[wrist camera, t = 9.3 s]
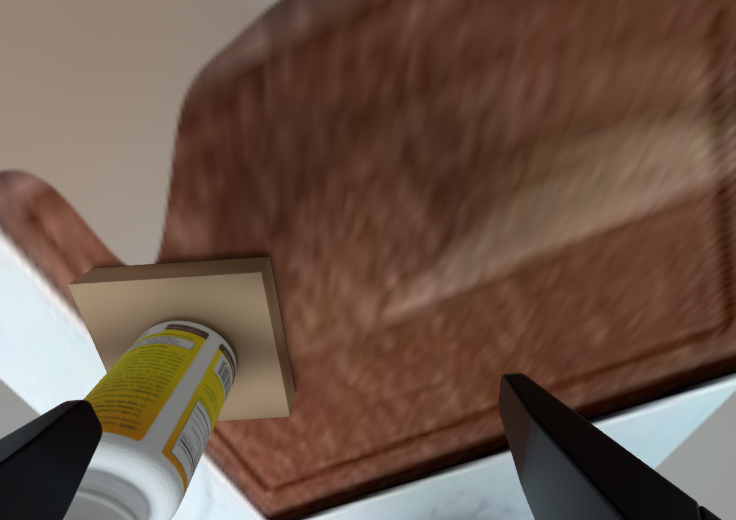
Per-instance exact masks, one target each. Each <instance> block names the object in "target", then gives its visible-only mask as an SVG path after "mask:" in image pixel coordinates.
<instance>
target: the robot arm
mask: <svg viewBox="0 0 736 520" xmlns="http://www.w3.org/2000/svg"><path fill="white" fill-rule="evenodd" d="M499 412H500V416H501V419H502V422H503V426H504V429H505V433H506V436H507V439H508V443H509V446H510V450H511V453H512V456H513V460H514V463H515V467H516V470H517V473H518V477H519V480H520V483H521V486H522V489H523V491H524V494H525V496H526V499H527V501H528V504H529V506H530V509H531V511H532V514H533V516H534V519H535V520H721V519H720V518H718V517H717V516H716V515H715V514H713V513H712V512H710V511H709V510H708V509H706V508H705V507H703V506H699V505H698V503H697V502H696V501H695V500H694V499H693V498H691V497H690V496H688V495H687V494H686V493H684V492H683V491H682V490H680V489H679V488H678V487H676V486H675V485H674V484H672V483H671V482H669V481H668V480H667V479H665V478H664V477H663V476H661V475H660V474H659V473H657V472H656V471H655V470H653V469H652V468H651V467H649V466H648V465H646V464H645V463H644V462H642V461H641V460H640V459H638V458H637V457H636V456H634V455H633V454H632V453H630V452H629V451H627V450H626V449H625V448H623V447H622V446H621V445H619V444H618V443H617V442H615V441H614V440H613V439H611V438H610V437H608V436H607V435H606V434H604V433H603V432H602V431H600V430H599V429H598V428H596V427H595V426H594V425H592V424H591V423H590V422H588V421H587V420H585V419H584V418H583V417H581V416H580V415H579V414H577V413H576V412H575V411H573V410H572V409H571V408H569V407H568V406H566V405H565V404H564V403H562V402H561V401H560V400H558V399H557V398H556V397H554V396H553V395H552V394H550V393H549V392H547V391H546V390H545V389H543V388H542V387H541V386H539V385H538V384H537V383H535V382H534V381H533V380H531V379H530V378H528V377H527V376H526V375H524V374H522V373H508V374H504V375H502V378H501V384H500V393H499ZM102 432H103V429H102V425H101V423H100V421H99V419H98V417H97V415H96V413H95V411H94V409H93V406H92V405H91V403H90V402H89V401H87V400H73V401H66V402H64V403H62V404H60V405H58V406H57V407H55V408H53V409H51V410H50V411H48V412H46V413H45V414H43V415H41V416H39V417H38V418H36V419H34V420H33V421H31V422H29V423H27V424H26V425H24V426H22V427H21V428H19V429H17V430H15V431H14V432H12V433H11V434H8V435H7V436H5V437H3V438H2V439H0V520H63V519H64V517H65V515H66V513H67V511H68V509H69V507H70V505H71V503H72V501H73V499H74V497H75V494H76V492H77V490H78V488H79V486H80V483H81V481H82V479H83V477H84V475H85V473H86V470H87V468H88V466H89V464H90V462H91V459H92V457H93V455H94V453H95V451H96V449H97V446H98V444H99V442H100V440H101V437H102Z"/></svg>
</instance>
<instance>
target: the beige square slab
mask: <svg viewBox="0 0 736 520" xmlns="http://www.w3.org/2000/svg"><path fill="white" fill-rule="evenodd" d="M68 286H69V288H70V290H71V293H72V295H73V297H74V299H75V302H76V304H77V306H78V308H79V311H80V313H81V315H82V317H83V320H84V322H85V324H86V326H87V329H88V331H89V333H90V335H91V338H92V340H93V342H94V344H95V347H96V349H97V351H98V353H99V356H100V358H101V360H102V362H103V365H104V367H105V369H106V371H107V373H108V372H109V370H110V369H111V368H112V367H113V366H114V365H115V364H116V363H117V361H118V360H119V359H120V358H121V357H122V356H123V355H124V354H125V352H126V351H127V350H128V349H129V348H130V347H131V346H132V345H133V344H134V343H135V342H136V340H137V339H138V338H139V337H140V336H141V335H142V334H143V333H144V332H146V331H147V330H148V329H150V328H152V327H154V326H156V325H158V324H161V323H164V322H169V321H188V322H193V323H197V324H200V325H203V326H205V327H207V328H209V329H211V330H213V331H214V332H216V333H217V334H219V335H220V336H221V337H222V338H223V339H224V340H225V341H226V342H227V343H228V345H229V346H230V348H231V349H232V351H233V354H234V356H235V360H236V375H235V379H234V382H233V385H232V387H231V389H230V391H229V393H228V396H227V398H226V400H225V402H224V405H223V407H222V410H221V412H220V414H219V416H218V419H217V421H224V420H241V419H258V418H274V417H290V415H291V410H292V406H293V401H294V397H295V389H294V383H293V378H292V372H291V367H290V362H289V356H288V351H287V346H286V340H285V335H284V330H283V324H282V319H281V314H280V308H279V303H278V298H277V292H276V287H275V282H274V276H273V271H272V265H271V260H270V257H256V258H241V259H225V260H209V261H194V262H178V263H163V264H147V265H132V266H116V267H100V268H93V269H91V270H90V271H88V272H86V273H85V274H83V275H82V276H80V277H79V278H77V279H76V280H74V281H73V282H71V283H70V284H68Z"/></svg>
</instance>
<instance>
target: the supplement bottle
mask: <svg viewBox="0 0 736 520" xmlns="http://www.w3.org/2000/svg"><path fill="white" fill-rule="evenodd" d="M235 375H236V360H235V356H234V354H233V351H232V349H231V348H230V346H229V345H228V343H227V342H226V341H225V340H224V339H223V338H222V337H221V336H220V335H219V334H217V333H216V332H214V331H213V330H211V329H209V328H207V327H205V326H203V325H200V324H197V323H193V322H188V321H169V322H164V323H161V324H158V325H156V326H154V327H152V328H150V329H148V330H147V331H146V332H144V333H143V334H142V335H141V336H140V337H139V338H138V339H137V340H136V342H135V343H134V344H133V345H132V346H131V347H130V348H129V349H128V350H127V351H126V352H125V354H124V355H123V356H122V357H121V358H120V359H119V360H118V361H117V363H116V364H115V365H114V366H113V367H112V368H111V369H110V370H109V372H108V373H107V374H106V375H105V376H104V377H103V378H102V379H101V380H100V382H99V383H98V384H97V385H96V386H95V387H94V388H93V389H92V391H91V392H90V393H89V394H88V395H87V396H86V397H85V398H84V399H83V400H87V401H89V402H90V403H91V405H92V406H93V409H94V411H95V413H96V415H97V417H98V419H99V421H100V423H101V425H102V429H103V432H102V437H101V440H100V442H99V444H98V446H97V449H96V451H95V453H94V455H93V457H92V459H91V462H90V464H89V466H88V468H87V470H86V473H85V475H84V477H83V479H82V481H81V483H80V486H79V488H78V490H77V492H76V494H75V497H74V499H73V501H72V503H71V505H70V507H69V509H68V511H67V513H66V515H65V517H64V519H63V520H171V519H172V517H173V516H174V515H175V513H176V511H177V510H178V508H179V506H180V504H181V502H182V499H183V497H184V495H185V493H186V490H187V488H188V486H189V483H190V481H191V478H192V476H193V474H194V472H195V469H196V467H197V465H198V462H199V460H200V458H201V455H202V453H203V451H204V449H205V446H206V444H207V442H208V440H209V437H210V435H211V433H212V431H213V428H214V426H215V424H216V421H217V419H218V416H219V414H220V412H221V410H222V407H223V405H224V402H225V400H226V398H227V396H228V393H229V391H230V389H231V387H232V385H233V382H234V379H235Z"/></svg>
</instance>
